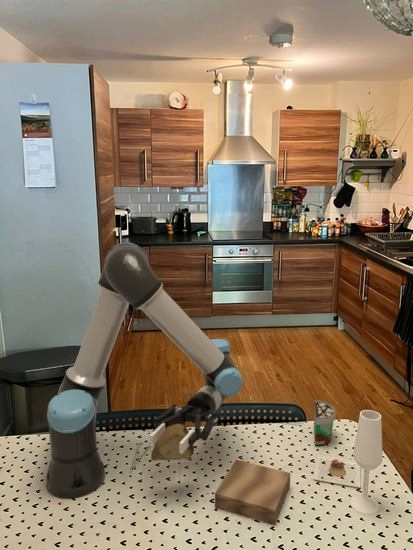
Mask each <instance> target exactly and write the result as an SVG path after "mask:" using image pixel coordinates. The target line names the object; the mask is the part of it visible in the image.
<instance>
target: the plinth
mask: <svg viewBox="0 0 413 550" xmlns="http://www.w3.org/2000/svg"><path fill="white" fill-rule="evenodd" d="M290 488H291V472H288V471H285V470H284V471H283V470H281V469H276V468H271V467H267V466H263V465H259V464H255V463H251V462H247V461H242V460H239V459H235V460H234V462H233V464H232V466H231V467H230V469H229V470H228V472H227V473H226V475H225V477H224V478H223V480H222V481H221V483H220V484H219V486H218V488H216V489H217V490H216V491H215V493H214V508H215V509H218V510H222V511H225V512H227V513H231V514H235V515H239V516H242V517H244V518H249V519H252V520H255V521H259V522H262V523H266V524H268V525H273V526H276V524H277V521H278V518H279V515H280V512H281V511H282V508H283V505H284V503H285V500H286V498H287V495H288V492H289V490H290Z"/></svg>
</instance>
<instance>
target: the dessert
mask: <svg viewBox="0 0 413 550" xmlns="http://www.w3.org/2000/svg"><path fill="white" fill-rule="evenodd" d="M321 460H325V461H330V462H331V463H330V465H329V468H328V473H329V474H330V475H332V476H334V477H336V478H337V477H338V478H340V477H341V478H342V477H344V476H346V468H345V464H347V465H348V464H349V465H354V478H355V479H354V484H348V483H342V482H338V481H332V480H327V479H321V478H319V476H320V470H321V469H320V467H321ZM313 480H315V481H320V482H326V483H333V484H336V485H337V484H338V485H344V486H349V487H353V488H354V487H355V488H361V483H362V482H361V467H360V466H359V465H358V464H357V462H356V461H355V459H350V458H343V457H337V456H331V455H323V454H316V456H315V462H314V471H313Z"/></svg>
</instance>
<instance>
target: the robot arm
mask: <svg viewBox="0 0 413 550" xmlns="http://www.w3.org/2000/svg"><path fill="white" fill-rule="evenodd" d="M101 271H102V272H101V274H100V277H99V280H98V282H97V285H98V286H99V288H100V294H99V296H98V299H97V301H96V305H95V307H94V310H93V312H92V315H91V319H90V321H89V323H88V326H87V328H86V329H87V330H86V331H85V334H84V338H83V340H82V343H81V346H80V349H79V352H78V355H77V357H76V360H75V362H74V365H73V366H71V367H69V368H68V369H66V371H65V374H64V378H63V379H62V382H61V384H60V386H59V388H58V391H57V395H55V396H53V397H52V398H51V400H50V401H49V403H48V405H47V413H46V417H47V422H48V432H49V444H50V454H51V458H50V461H49V465H48V469H47V473H46V478H45V479H46V488H47V490H48V492H49V493H50V494H51V495H53V496H54V497H57V498H61V499H74V498H79V497H84V496H87V495H89V494H91V493H93V492H94V491H96V490H97V489H99V487H101V485H102V484H103V483H104V481H105V478H106V468H105V464H104V462H103V461H102V458H101V456H100V454H99V451H98V448H97V447H98V446H97V433H96V432H97V430H96V420H97V411H98V405H99V402H100V398H101V396H102V394H103V390H104V388H105V385H106V383H107V382H106V379H105V377H104V373H105V370H106V368H107V365H108V362H109V359H110V356H111V354H112V352H113V349H114V346H115V343H116V341H117V337H118V336H119V332H120V329H121V326H122V324H123V322H124V319H125V317H126V314H127V311H128V308H129V305H131V306H132V307H133V308H134V309H135V310H141V311H142V312H143V313H144V314H145V315H146V316H147V317H148V318H149V319H150V320H151V321H152V322H153V323H154V324H155V325H156V326H157V327H158V328H159V329H160V330H161V331H162V332H163V333H164V334H165V335H166V336H167V337H168V338H169V340H171V341H172V342H173V343H174V345H175V346H176V347H178V349H179V350H181V352H182V353H184V354H185V355H186V357H188V359H189V360H190V361H191V362H192V363H193V364H194V365H195V366H197V368H198V369H199V370H200V371H201V372H202V373H203V374H204V384H203V386H202V387H200V389H199V390H198V391H196V393H195V394H194V395H193V396H192V397H190V398H189V400H187V403H186V405H182V407H178V405H177V404H172V405H171V407H170V408H169V409H167V410H166V411H164V412H163V413H161V414H160V415H158V416H157V417H156V418H155V419H154V428H153V430H152V433H151V434H150V435H149V443H150V446H151V447H154V446H155V443H156V442H157V441H158V440H159V439H160V437H161V436H162V434H163V433H164V432H165V430H166V428H167V427H168V426H171V425H174V424H181V425H185V424H186V423H187V422H189V423H193V424H195V425H194V430H193V429H190V430H189V433H188V434H187V435H186V436H185V437H184V438H183V439H182V441H181V442H180V443H179V453H180V454H183V453H184V451H185V450H186V449H187V448H188V447H189V445H194V444H195V443H196V442H197V441H200V440H202V441H207V440H208V439H209V437H210V435H211V432H212V430H213V428H214V427H215V426H216V425H217V424H218V420H219V418H218V416H219V415H218V413H217V412H216V411H217V410H218V409H219V408H220V406H221V405H222V404H223V403H224V401H226V400H227V399H228V398H229V397H233V396H235V395H237V394H238V393H239V392H240V391H241V390H242V389H243V384H244V381H243V380H244V379H243V376H242V373H241V371H239V369H238V368H237V366H236V364H235V361H234V360H233V359H232V357H231V344H230V341H228V340H226V339H222V338H211V339H210V338H209V337H208V336H207V335H206V333H205V332H203V330H202V329H201V328H200V327H199V326H198V325H197V324H196V323H195V322H194V321H193V320H192V318H190V317H189V316H188V314H187V313H186V312H185V311H184V310H183V308H181V307H180V305H179V304H178V303H176V302H175V301H174V299H173V298H172V297H171V296H170V295H169V294H168V293H167V292H166V291H165V290H164V289H163V287H164V284H163V281H162V280H160V279H159V278H158V277H157V275H156V274H155V272H154V271H153V269H152V268H151V266H150V263H149V258H148V254H147V253H146V251H145V250H144V249H143V248H142V247H141V246H139V245H137V244H135V243H132V242H121V243H118V244H116V245H114V246H113V247H112V248H111V249H110V250H109V251H108V252H107V255H106V258H105V262H104V266H103V268H102V270H101ZM215 412H216V413H215ZM202 422H203V423H204V422H205V424H204V426H203V428H202V430H201V425H202V424H201V423H202Z"/></svg>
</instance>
